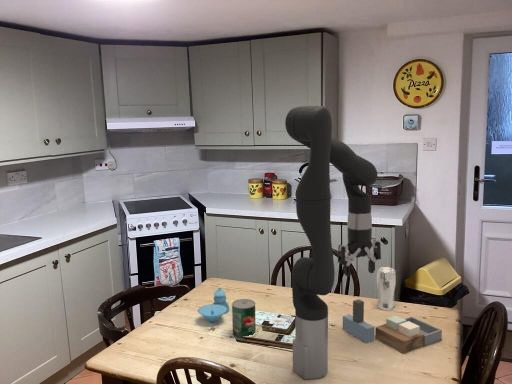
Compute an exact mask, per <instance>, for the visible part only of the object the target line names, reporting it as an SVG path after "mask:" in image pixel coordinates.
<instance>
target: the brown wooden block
mask: <svg viewBox="0 0 512 384" xmlns="http://www.w3.org/2000/svg"><path fill="white" fill-rule="evenodd" d="M375 339H376V340H377V341H379V342H381V343H383V344H385V345H386V346H388V347H390V348H392V349H394V350H395V351H398V352H400V353H401V354H406V353H409V352H411V351H415V350H417V349H419V348H422V347H424V346H423V343H424V334H422V333H420V334H417V335H414V336H412V337H408V336H406V335H404V334H402V333H400V332H399V330H397V331H396V330H394V329H392V328H390V327H388V326H386V323H384V324H381V325H378V326H375V327H374V340H375Z"/></svg>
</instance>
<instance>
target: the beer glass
mask: <svg viewBox="0 0 512 384" xmlns="http://www.w3.org/2000/svg"><path fill="white" fill-rule="evenodd" d="M396 278H397V276H396V269H395V268H393V267H390V266H389V267H388V266H382V267H378V268H377V271H376V287H377V293H378V294H377V295H378V299H377V300H378V302H377V305H376V307H377V308H378V309H379V310H382V311H391V310H394V308H395V307H394V302H393V301H394V293H395V289H396Z"/></svg>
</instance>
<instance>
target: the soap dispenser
mask: <svg viewBox="0 0 512 384" xmlns="http://www.w3.org/2000/svg"><path fill="white" fill-rule="evenodd" d="M213 295H214V297H213V302H212V303H211V304H207V305H202V306H201V307H199V308H198V309H197V312H198V314H199V315H201V316H202V317H203V318H204V319H205V320H206V321H208V322H209V323H210V324H212V323H216V322H217V321H218V320H220V318H221V317H222V316H223V315H225V314H228V313H229V312H230V305H229V303H228V302H227V296H226V295H227V293H226V291H225V290H223V288H222V287H218V288H217V290H215V291H214V292H213Z"/></svg>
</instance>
